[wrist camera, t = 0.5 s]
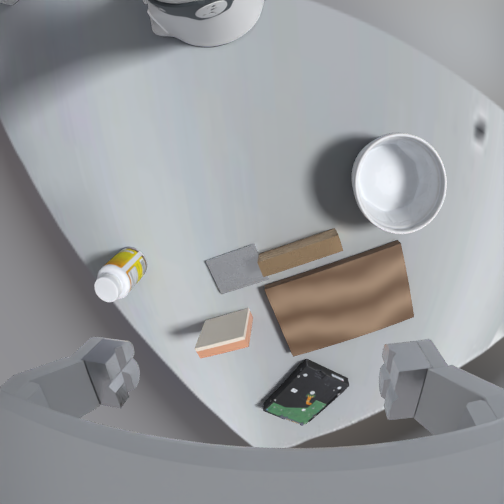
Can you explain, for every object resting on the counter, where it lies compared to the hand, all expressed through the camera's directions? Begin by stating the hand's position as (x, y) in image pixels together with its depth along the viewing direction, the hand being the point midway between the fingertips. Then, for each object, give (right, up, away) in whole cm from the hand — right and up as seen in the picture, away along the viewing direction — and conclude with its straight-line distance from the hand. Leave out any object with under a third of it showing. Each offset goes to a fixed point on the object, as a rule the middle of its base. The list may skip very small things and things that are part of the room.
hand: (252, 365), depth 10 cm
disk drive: (+10, -24, +50) cm, 56 cm away
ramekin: (+20, +14, +34) cm, 42 cm away
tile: (-4, -8, +45) cm, 45 cm away
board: (+15, -4, +42) cm, 44 cm away
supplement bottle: (-20, +2, +42) cm, 47 cm away
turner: (+3, +3, +40) cm, 40 cm away
